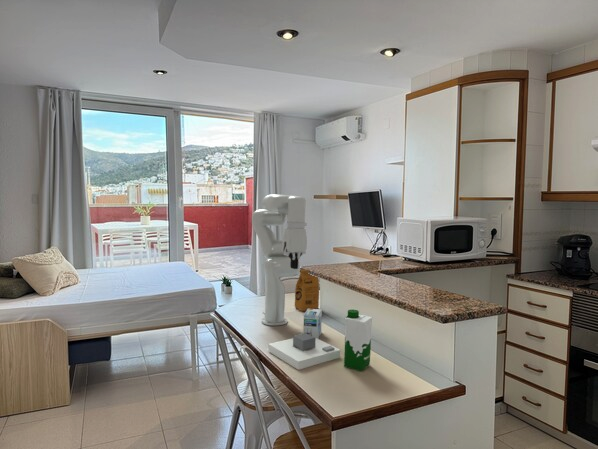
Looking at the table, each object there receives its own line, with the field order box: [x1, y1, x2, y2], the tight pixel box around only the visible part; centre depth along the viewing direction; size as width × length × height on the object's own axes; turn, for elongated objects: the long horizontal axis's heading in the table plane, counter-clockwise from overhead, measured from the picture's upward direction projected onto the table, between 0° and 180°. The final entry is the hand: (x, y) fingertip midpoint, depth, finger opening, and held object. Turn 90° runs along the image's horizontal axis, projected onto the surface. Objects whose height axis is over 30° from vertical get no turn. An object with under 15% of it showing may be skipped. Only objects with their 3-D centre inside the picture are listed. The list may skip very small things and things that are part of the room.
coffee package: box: [294, 269, 320, 312], centre depth 217 cm, size 10×12×22 cm
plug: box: [292, 332, 316, 351], centre depth 152 cm, size 6×6×6 cm
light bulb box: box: [302, 308, 323, 340], centre depth 174 cm, size 11×7×11 cm, turn 168°
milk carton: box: [343, 309, 373, 372], centre depth 143 cm, size 9×9×20 cm
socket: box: [267, 337, 342, 370], centre depth 153 cm, size 20×20×4 cm
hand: (294, 268), depth 168 cm, fingers closed
